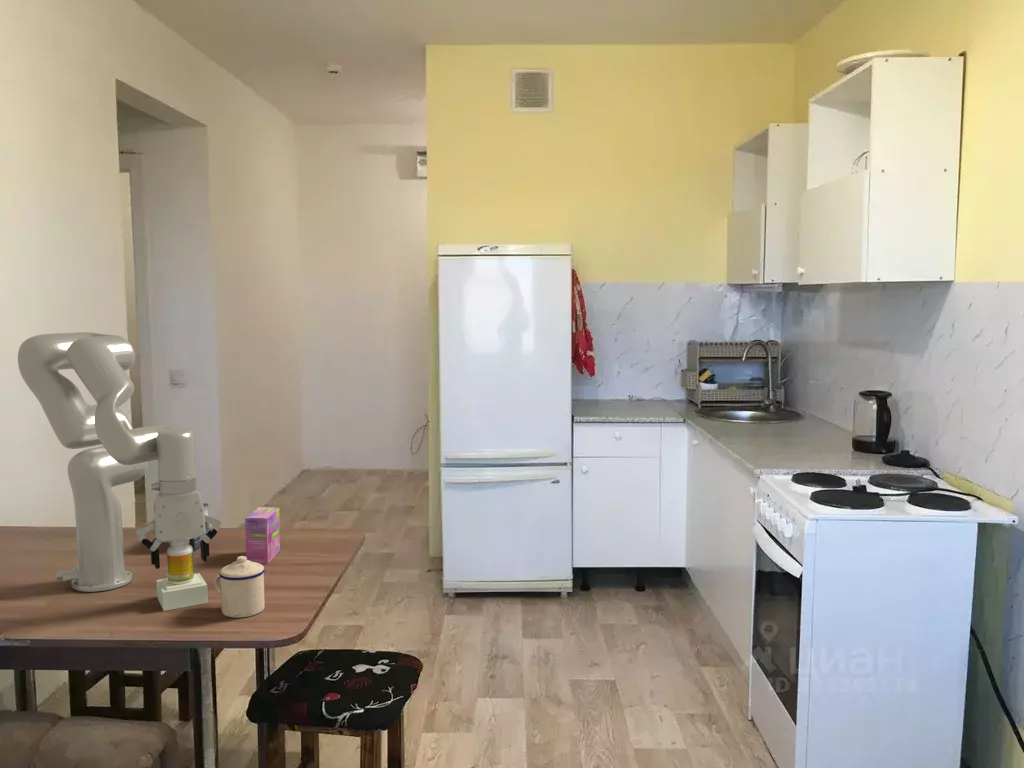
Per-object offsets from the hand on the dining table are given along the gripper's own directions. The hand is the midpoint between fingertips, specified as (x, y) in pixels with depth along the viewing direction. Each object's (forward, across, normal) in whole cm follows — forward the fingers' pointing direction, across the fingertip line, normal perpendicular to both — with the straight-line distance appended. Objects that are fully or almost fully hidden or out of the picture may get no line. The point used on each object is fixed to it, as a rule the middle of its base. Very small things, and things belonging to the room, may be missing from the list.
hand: (180, 563), depth 180 cm
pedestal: (+8, 0, 0) cm, 8 cm away
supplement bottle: (+4, 0, 0) cm, 4 cm away
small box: (+9, +9, +41) cm, 43 cm away
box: (+9, +23, +21) cm, 32 cm away
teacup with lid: (+8, +9, -12) cm, 17 cm away
